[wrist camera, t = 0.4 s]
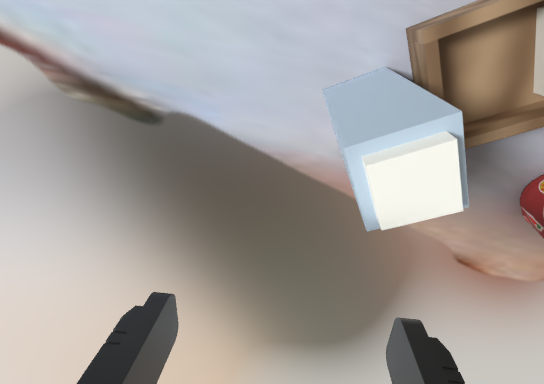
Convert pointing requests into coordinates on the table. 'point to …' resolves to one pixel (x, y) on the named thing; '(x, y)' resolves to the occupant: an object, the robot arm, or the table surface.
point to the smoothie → (534, 204)
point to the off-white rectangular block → (539, 53)
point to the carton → (399, 149)
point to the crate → (482, 66)
